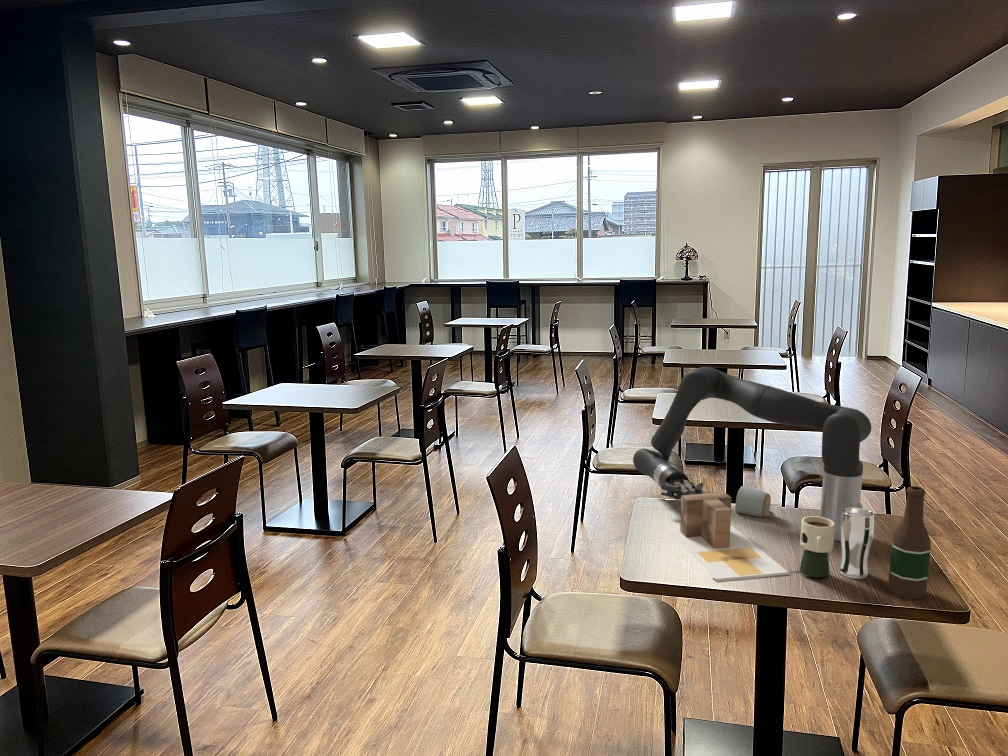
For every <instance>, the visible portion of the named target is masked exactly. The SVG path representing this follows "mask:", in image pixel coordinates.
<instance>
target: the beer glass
mask: <svg viewBox="0 0 1008 756" xmlns="http://www.w3.org/2000/svg"><path fill="white" fill-rule="evenodd" d="M874 532H875V513H874V511H872V510H869V509H867V508H863V507H862V508H858V507H848V508H844V509H843V513H842V519H841V527H840V537H841V541H840V546H841V562H840V564H839V568H838V569H839V570H838V571H839V573H840V574H841V575H842V576H844V577H846V578H850V579H855V580H863V579H865V578H867V577H868V574H869V573H868V570H869V569H868V557H869V553H870V551H871V547H872V544H873V541H874V534H875V533H874Z"/></svg>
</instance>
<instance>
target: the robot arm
mask: <svg viewBox="0 0 1008 756" xmlns="http://www.w3.org/2000/svg"><path fill="white" fill-rule="evenodd" d="M711 398H712V399H713V398H714V399H718V400H723V401H727V402H730V403H733V404H734V405H737V406H739V407H740V408H741V409H743V410H744V411H746V412H747V413H748V414H750V415H752V416H754V417H756V418H758V419H762V420H763V421H767V422H771V423H775V424H777V425H778V424H779V425H784V426H792V427H793V426H795V427H804V428H805V427H807V428H812V429H816V430H819V431H822V434H821V460H822V463H823V474H822V485H821V486H822V488H821V500H820V511H819V512H820V515H819V517H824V518H827V519H830V520H832V521H833V522H834V523H835V531H834V541H837V542H841V537H840V527H841V519H842V513H843V509H844V508H848V507H858V508H863V504H862V502H861V497H862V486H863V485H862V483H863V473H864V464H863V462H862V461H861V460H860V450H861V449H860V445H861V443H862V442H864V440H866V439H867V438H868V437H869V435H870V434H871V432H872V423H871V420H870V418H869V417H868V416H867V415H866V414H865V413H864V412H862V411H860V410H858V409H857V408H852V407H847V406H843V405H841V406H840V405H835V404H831V403H825V402H821V401H817V400H815V399H811V398H809V397H805V396H803V395H800V394H796V393H794V392H790V391H787V390H784V389H781V388H777V387H774V386H770V385H768V384H763V383H760V382H759V383H758V382H756V381H750V380H745V379H743V378H738V377H736V376H733V375H730V374H729V373H726V372H724V371H721V370H719V369H717V368H714V367H710V366H701V367H698V368H694V369H690V370H688V371H687V372H686V373H685V374H684V375H683V377H682V379H681V381H680V383H679V386H678V388H677V391H676V392H675V395H674V398H673V400H672V402H671V405H670V406H669V409H668V410H667V413H666V415H665V416H664V418H663V420H662V421H661V423H660V425H659V426H658V427H657V429H656V431H655V433H654V434H653V435H652V437H651V440H650V444H651V446H652V447H653V448H654V449H655V450H656V451H655V450H651V449H648V448H640V449H637V451H635V453H634V455H633V458H632V463H633V466H634V468H635V469H636V471H638V472H640V473H641V474H643V475H644V476H647V477H649V478H651V479H652V480H653V481H654V482H655V483H656V484H657V486H659V488H660V492H661V493H660V494H661V496H664V497H667V498H672V499H676V500H681V495H694V494H704V483H701V482H699V483H697V484H695V483H694V482H693V481H691V480H689V477H688V475H687V474H686V473H685V472H683V471H682V470H681V469H679V468H678V467H677V466H675V465H673V464H672V463H670V458H671V455H672V452H673V449H674V448H675V446H676V445H677V443H678V442H679V440H680V439H681V437H682V435H683V433H684V431H685V429H686V425H687V421H688V418H689V415H690V414H691V412H692V411H693V410H694V409H695V407H696V406H697V405H698V404H699V403H700V402H701V401H704V400H706V399H707V400H708V399H711Z"/></svg>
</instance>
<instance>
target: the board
mask: <svg viewBox="0 0 1008 756" xmlns="http://www.w3.org/2000/svg"><path fill="white" fill-rule="evenodd" d="M667 532H668V533H669V534H670V535H671V536H672V537H673V538H674V539H675V540H676V541H677V542H678V543H679V544H680V545H681V546H682V547H683V548H684V549H685V550H686V551H687V552H688V553H689V554H690V555H691V556H692V557H693V558H694V559H695V561H697V562H698V563H699V564H700V566H702V567H703V568H704V569H705V571H707V573H709V574H710V576H712V580H714V582H722V581H723V582H724V581H733V580H744V579H752V578H753V579H755V578H766V577H774V576H775V577H776V576H785V575H789V571H788V570H786V569H785V568H784V567H783V566H781V564H779V563H778V562H777V561H775V560H774V559H773V558H772V557H770V556H769V555H768V554H767V553H765V551H763V550H761V548H759V547H758V546H757V545H756V544H755V543H753V542H752V541H751V540H750V539H748V538H747V537H746V536H745V535H743V533H741V532H740V531H738V530H737V529H736V528H735V527H734V526H733V525H730V545H729V548H717V549H714V548H713V547H712V546H711V545H710V544H709V543H708V542H706V541H705V540H704V539H703V538H702V537H701V536H698V537H685V536H684V535H683V534H682V533H681V532H680V528H679V529H677V528H676V529H668V530H667Z"/></svg>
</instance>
